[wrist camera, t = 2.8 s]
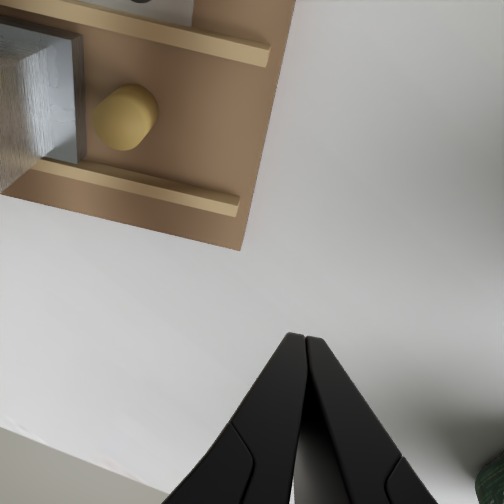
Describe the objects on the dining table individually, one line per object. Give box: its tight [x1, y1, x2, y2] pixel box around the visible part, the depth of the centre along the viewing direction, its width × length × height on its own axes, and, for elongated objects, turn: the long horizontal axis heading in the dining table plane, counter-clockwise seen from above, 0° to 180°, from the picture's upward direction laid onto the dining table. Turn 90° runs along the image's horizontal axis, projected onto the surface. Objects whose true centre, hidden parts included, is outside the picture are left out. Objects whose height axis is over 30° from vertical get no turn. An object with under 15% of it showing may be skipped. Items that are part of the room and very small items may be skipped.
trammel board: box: [0, 0, 296, 251], centre depth 19 cm, size 21×12×3 cm, turn 79°
